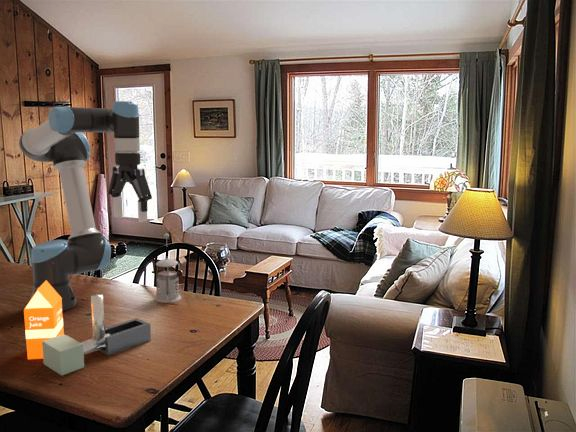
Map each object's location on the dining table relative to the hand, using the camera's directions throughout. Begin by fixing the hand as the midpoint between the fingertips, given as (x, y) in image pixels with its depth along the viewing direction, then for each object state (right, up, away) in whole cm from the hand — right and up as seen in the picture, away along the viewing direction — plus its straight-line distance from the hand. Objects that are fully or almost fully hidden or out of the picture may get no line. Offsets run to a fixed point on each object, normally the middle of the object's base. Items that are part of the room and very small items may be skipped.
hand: (130, 219), depth 161 cm
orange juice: (-19, -38, -16) cm, 45 cm away
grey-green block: (-10, -39, -25) cm, 47 cm away
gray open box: (+1, -37, -11) cm, 39 cm away
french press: (+5, -30, +30) cm, 43 cm away
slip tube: (-6, -37, -20) cm, 43 cm away
